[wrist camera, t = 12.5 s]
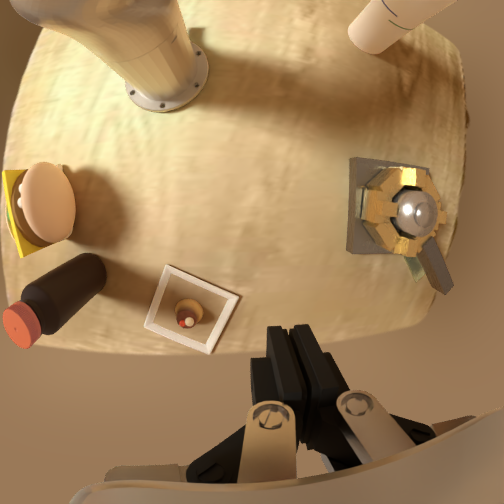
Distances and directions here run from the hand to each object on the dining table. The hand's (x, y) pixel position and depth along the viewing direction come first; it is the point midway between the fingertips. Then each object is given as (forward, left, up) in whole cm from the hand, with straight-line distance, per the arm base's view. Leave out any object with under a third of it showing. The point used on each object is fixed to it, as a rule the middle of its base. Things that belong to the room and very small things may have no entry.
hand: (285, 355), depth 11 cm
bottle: (+6, -26, -29) cm, 40 cm away
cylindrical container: (-34, +20, -29) cm, 49 cm away
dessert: (+13, -9, -30) cm, 34 cm away
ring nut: (0, +25, -26) cm, 37 cm away
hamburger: (-6, -30, -29) cm, 42 cm away
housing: (-1, +24, -29) cm, 38 cm away
